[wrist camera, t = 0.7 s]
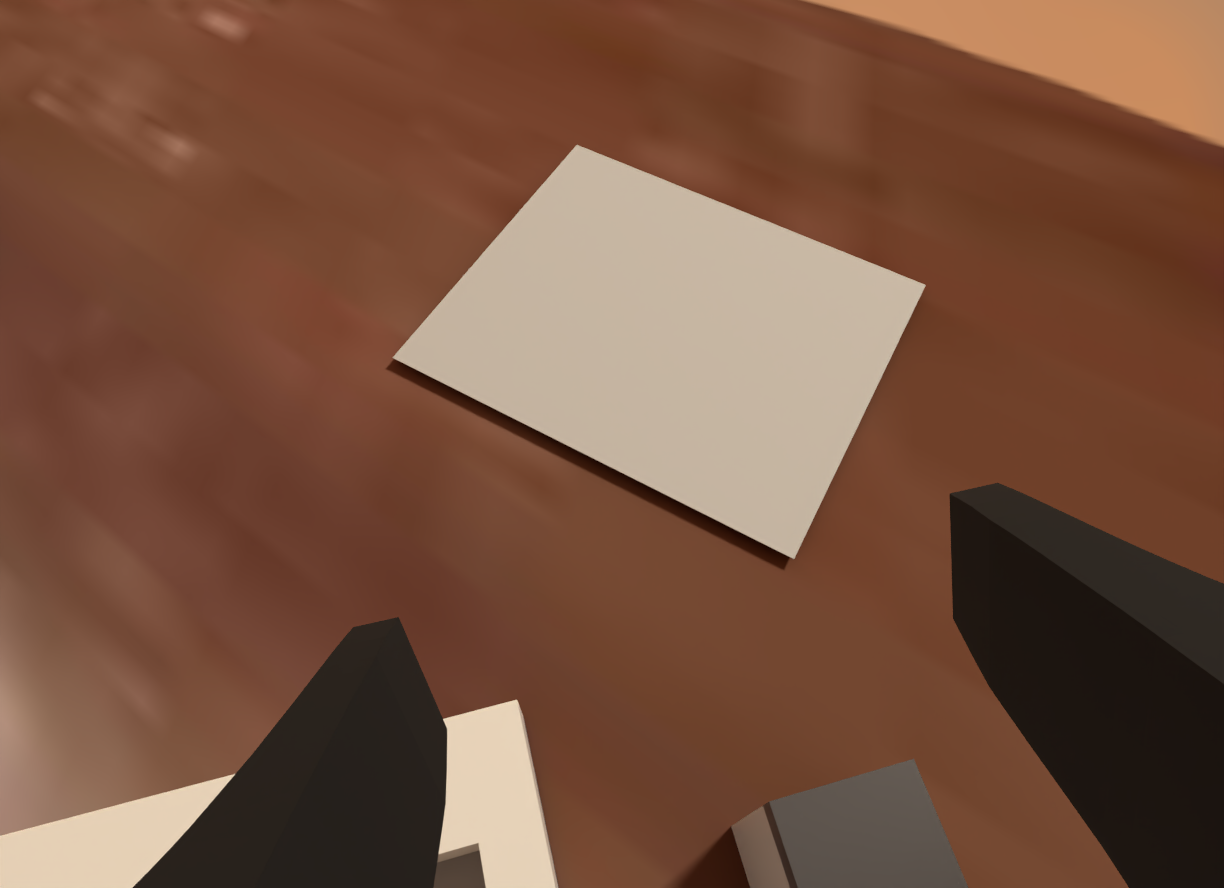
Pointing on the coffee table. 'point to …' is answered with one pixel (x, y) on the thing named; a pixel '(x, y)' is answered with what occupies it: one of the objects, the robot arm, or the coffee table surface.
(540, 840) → the faceplate
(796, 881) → the plug
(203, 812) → the robot arm
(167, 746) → the coffee table surface
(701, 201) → the paper stack
